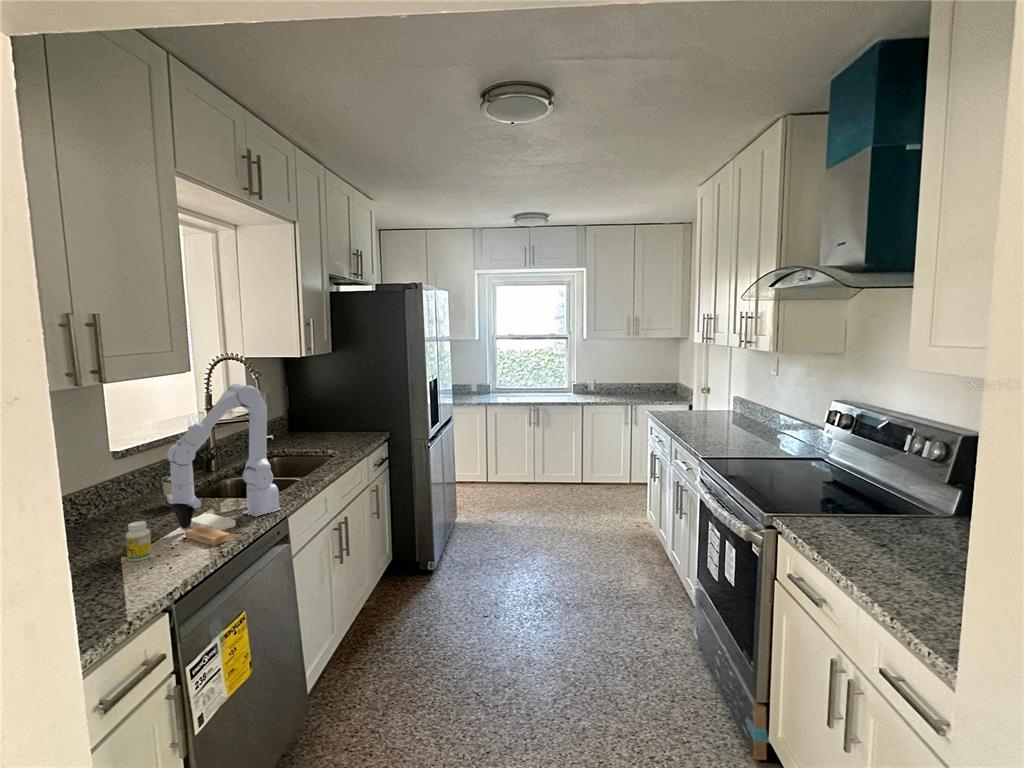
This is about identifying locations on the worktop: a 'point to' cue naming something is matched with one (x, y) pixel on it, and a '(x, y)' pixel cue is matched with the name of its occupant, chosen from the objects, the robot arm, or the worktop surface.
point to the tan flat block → (207, 535)
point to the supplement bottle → (138, 541)
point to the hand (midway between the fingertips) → (185, 527)
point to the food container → (167, 489)
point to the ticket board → (212, 522)
